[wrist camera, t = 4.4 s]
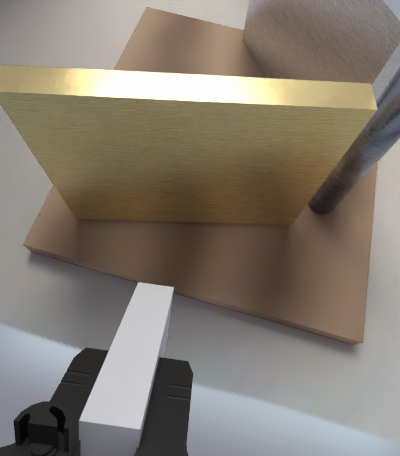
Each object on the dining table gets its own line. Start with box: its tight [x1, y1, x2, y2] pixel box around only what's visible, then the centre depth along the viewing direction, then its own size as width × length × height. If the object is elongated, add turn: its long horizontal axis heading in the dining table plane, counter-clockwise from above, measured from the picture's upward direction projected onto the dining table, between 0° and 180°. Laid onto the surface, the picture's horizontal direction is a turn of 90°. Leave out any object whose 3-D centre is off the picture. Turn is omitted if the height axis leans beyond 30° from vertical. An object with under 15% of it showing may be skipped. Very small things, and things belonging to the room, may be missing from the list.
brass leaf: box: [0, 65, 378, 225], centre depth 17 cm, size 13×1×10 cm, turn 90°
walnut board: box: [23, 7, 377, 344], centre depth 25 cm, size 20×22×1 cm
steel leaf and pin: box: [242, 0, 400, 214], centre depth 20 cm, size 16×3×14 cm, turn 20°
